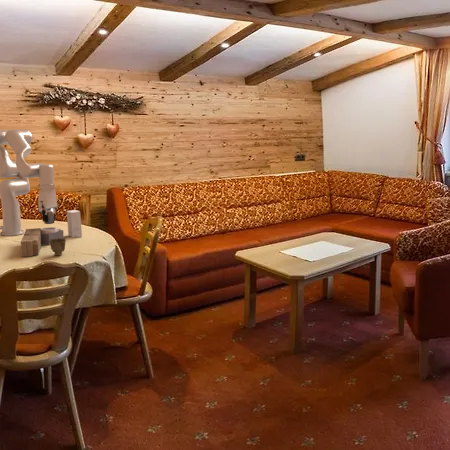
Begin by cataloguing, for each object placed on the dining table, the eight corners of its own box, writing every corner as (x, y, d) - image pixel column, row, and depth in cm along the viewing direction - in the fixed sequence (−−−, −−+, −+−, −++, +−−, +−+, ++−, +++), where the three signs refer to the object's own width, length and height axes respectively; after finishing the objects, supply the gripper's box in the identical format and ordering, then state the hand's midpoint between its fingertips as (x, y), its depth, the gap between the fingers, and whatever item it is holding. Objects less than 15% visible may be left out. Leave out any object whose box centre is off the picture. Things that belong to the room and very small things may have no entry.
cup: (52, 253, 253) (51, 237, 252) (67, 253, 254) (67, 237, 252) (48, 257, 246) (48, 241, 244) (64, 257, 247) (63, 241, 245)
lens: (42, 223, 273) (41, 208, 271) (48, 221, 278) (47, 207, 276) (51, 224, 271) (50, 209, 269) (57, 222, 276) (56, 208, 274)
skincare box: (82, 237, 290) (81, 211, 288) (71, 238, 287) (70, 212, 284) (77, 234, 297) (76, 209, 294) (67, 235, 294) (66, 210, 291)
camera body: (35, 243, 273) (34, 230, 271) (50, 239, 284) (49, 226, 282) (49, 245, 270) (48, 231, 268) (63, 240, 281) (63, 227, 279)
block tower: (38, 257, 247) (42, 242, 275) (37, 240, 246) (41, 227, 273) (21, 258, 245) (26, 242, 273) (20, 241, 243) (25, 227, 271)
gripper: (52, 185, 280) (53, 217, 283) (30, 188, 264) (32, 223, 268) (63, 186, 277) (64, 218, 281) (42, 189, 262) (44, 224, 265)
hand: (49, 220), depth 274 cm, fingers closed on lens, 5 cm apart
